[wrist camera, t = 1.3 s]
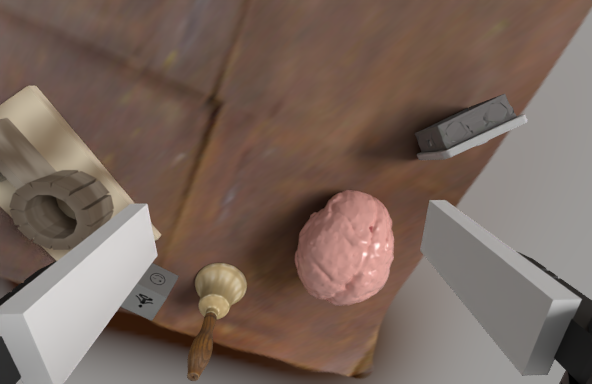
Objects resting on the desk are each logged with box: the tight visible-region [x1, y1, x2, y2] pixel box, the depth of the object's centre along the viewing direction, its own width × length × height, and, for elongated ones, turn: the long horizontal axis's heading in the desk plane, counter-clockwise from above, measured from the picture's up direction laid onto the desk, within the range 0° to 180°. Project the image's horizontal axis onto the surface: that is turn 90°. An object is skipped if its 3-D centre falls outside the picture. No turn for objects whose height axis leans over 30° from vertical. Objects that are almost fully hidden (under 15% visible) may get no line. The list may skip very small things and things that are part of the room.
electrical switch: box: [415, 94, 527, 160], centre depth 35 cm, size 9×5×9 cm, turn 116°
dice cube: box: [120, 263, 179, 320], centre depth 43 cm, size 5×5×5 cm
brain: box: [295, 190, 394, 306], centre depth 39 cm, size 16×13×12 cm
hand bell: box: [187, 263, 247, 381], centre depth 39 cm, size 8×8×16 cm
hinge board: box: [0, 86, 161, 261], centre depth 37 cm, size 24×15×6 cm, turn 29°
